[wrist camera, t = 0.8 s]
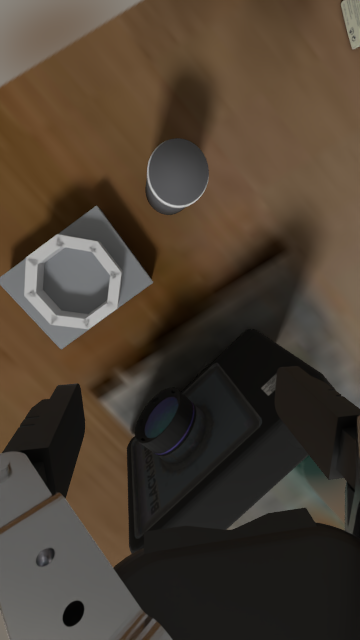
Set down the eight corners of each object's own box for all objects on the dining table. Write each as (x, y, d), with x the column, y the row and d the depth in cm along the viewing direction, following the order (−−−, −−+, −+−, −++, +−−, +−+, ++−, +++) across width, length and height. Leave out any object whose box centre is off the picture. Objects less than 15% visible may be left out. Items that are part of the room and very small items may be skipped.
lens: (173, 154, 29) (187, 122, 21) (199, 197, 31) (221, 182, 23) (134, 183, 29) (134, 162, 22) (162, 225, 31) (171, 218, 23)
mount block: (100, 209, 29) (93, 202, 25) (151, 279, 32) (154, 285, 27) (9, 276, 30) (-15, 283, 25) (67, 340, 32) (56, 356, 28)
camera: (235, 302, 34) (306, 343, 20) (279, 354, 37) (369, 423, 23) (103, 421, 36) (81, 538, 22) (155, 462, 39) (166, 591, 24)
